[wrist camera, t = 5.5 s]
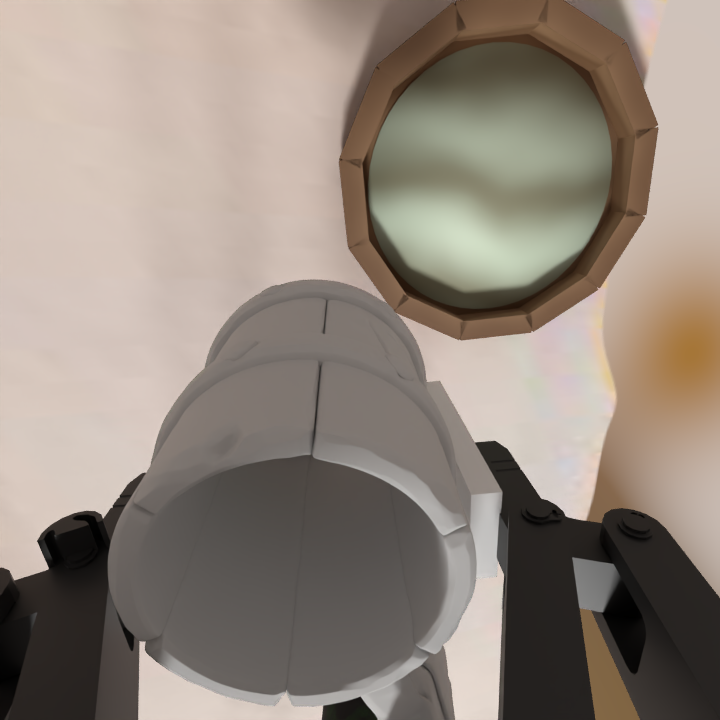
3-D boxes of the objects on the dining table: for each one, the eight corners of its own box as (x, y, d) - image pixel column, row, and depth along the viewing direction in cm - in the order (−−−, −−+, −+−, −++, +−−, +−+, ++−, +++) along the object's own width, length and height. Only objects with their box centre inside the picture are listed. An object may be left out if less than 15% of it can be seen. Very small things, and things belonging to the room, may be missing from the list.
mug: (364, 232, 15) (453, 350, 4) (480, 483, 19) (691, 905, 8) (177, 328, 16) (-227, 664, 4) (326, 547, 20) (313, 1010, 9)
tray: (324, 32, 26) (323, 13, 24) (645, 0, 26) (679, -22, 24) (357, 339, 33) (359, 351, 31) (608, 311, 34) (631, 321, 31)
